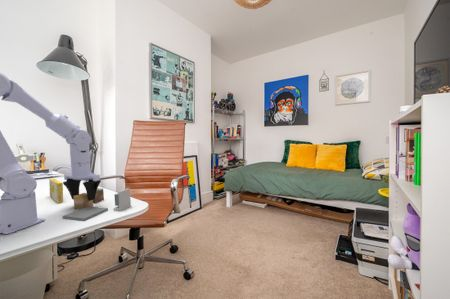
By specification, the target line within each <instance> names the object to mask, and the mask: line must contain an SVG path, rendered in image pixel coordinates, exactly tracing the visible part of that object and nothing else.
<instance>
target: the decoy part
mask: <svg viewBox="0 0 450 299" xmlns="http://www.w3.org/2000/svg"><path fill="white" fill-rule="evenodd" d="M104 195H105V194H104V188H101V187H100V188H99V187H98V188H97V191H96V195H95V199H94V200H93V204H97V203H99V202H100V201H101V202H103V201H105V198H104V197H105V196H104ZM102 200H103V201H102Z"/></svg>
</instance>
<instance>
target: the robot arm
mask: <svg viewBox="0 0 450 299" xmlns="http://www.w3.org/2000/svg"><path fill="white" fill-rule="evenodd" d="M1 97H2V98H1ZM0 98H1V101H5V102H10V103H15V104H18V105H20V106H21V107H23V108H24V109H26V110H28V111H29V112H31V113H33V114H34V115H36V116H38V117H39V118H40V119H42V120H44V123H45V126H46V128H48V129H49V130H51V131H53V132H54V133H55V134H57V136H60V137H61V138H63V139H65V142H66V143H67V144H68V145H69V157H70V166H71V168H70V169H71V173H68V174H67V173H66V174H64V175H63V178H64V181H62V183H63V185H64V186H65V188H66V189H67V191H68V194H69V195H70V197H71V200H73V201H74V196H75V195H79V194H80V185H81V182H82V185H83V187H84V188H85V192H86V193H87V198H88V201H91V200H94V199H95V195H96V191H97V188H99V185H100V184H101V181H102V180H101V175H100V174H96V173H93V172H92V171H91V159H90V158H91V157H90V144H91V142H92V138H93V137H91V135H90V133H89V132H88V131H86V130H85V129H84V130H83V129H81V126H80V125H76V124H74V123H73V122H72V121H71V120H69V117H68V116H67V115H66V114H64V115H63V114H62V113H61V114H60V113H53V112H52V111H51V110H49V109H48V108H47V107H46V106H45V105H44V104H42V102H40V101H39V100H37V99H36V98H35V97H34V96H32V95H31V94H30V93H28V91H26V90H25V89H23V87H22V86H20V85H19V84H18V83H17V82H15V81H14V80H12V79H9V78H8V77H7V76H6V75H5V74H3V73H2V72H0ZM83 181H84V182H83ZM37 183H38V182H37V181H36V179H35V177H33V176H31V175H30V174H28V172H27V171H26V170H25V168H24V167H23V166H22V165H21V164H20V163H19V161H18V160H17V157H16V156H15V154H14V152H13V150H12V149H11V147H10V145H9V143H8V142H7V140H6V139H5V137H4V135H3V133H2V131H1V130H0V190H1V191H2V192H3V193H2V195H1V196H0V234H1V233H3V235H10V234H11V233H15V232H18V231H20V230H22V229H23V230H24V229H25V228H29V227H31V226H34V225H36V224H37V225H38V224H39V223H41V222H44V221H46V218H40V217H38V211H37V199H36V198H37V197H36V191H35V190H36V189H37V185H38V184H37Z"/></svg>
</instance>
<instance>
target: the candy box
mask: <svg viewBox="0 0 450 299" xmlns="http://www.w3.org/2000/svg"><path fill="white" fill-rule="evenodd" d="M48 179H49V180H48V181H49V184H48V185H49V197H50V198H51V199H52V200H53V201H54V202H56V204H62V203H63V202H64V192H63V191H64V188H63V187H64V186H63V185H64V184H63V181H60V180H57V179H56V178H48Z"/></svg>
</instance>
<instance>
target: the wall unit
mask: <svg viewBox="0 0 450 299" xmlns="http://www.w3.org/2000/svg"><path fill="white" fill-rule="evenodd" d="M113 196H114V206H115V207H114V208H113V211H115V210H116V212H117V211H119V212H122V211H123V210H124V211H125V209H129V208H130V207H131V206H132V204H131V202H132V200H131V189H130V188H128V187H127V188H125V189H123V190H119V191H118V193H115V194H114V195H113Z"/></svg>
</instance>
